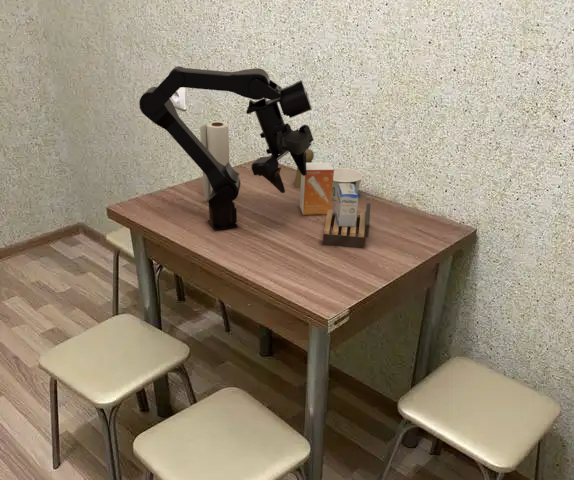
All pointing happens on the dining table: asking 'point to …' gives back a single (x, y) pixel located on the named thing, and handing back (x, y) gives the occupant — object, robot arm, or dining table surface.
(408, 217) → the dining table surface
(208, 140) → the paper towel roll
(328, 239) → the rack
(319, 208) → the small box
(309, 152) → the brown pawn figure
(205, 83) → the robot arm
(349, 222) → the medicine box
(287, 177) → the dining table surface
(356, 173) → the food container
